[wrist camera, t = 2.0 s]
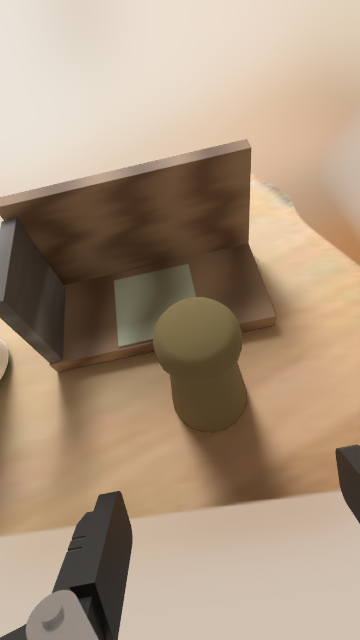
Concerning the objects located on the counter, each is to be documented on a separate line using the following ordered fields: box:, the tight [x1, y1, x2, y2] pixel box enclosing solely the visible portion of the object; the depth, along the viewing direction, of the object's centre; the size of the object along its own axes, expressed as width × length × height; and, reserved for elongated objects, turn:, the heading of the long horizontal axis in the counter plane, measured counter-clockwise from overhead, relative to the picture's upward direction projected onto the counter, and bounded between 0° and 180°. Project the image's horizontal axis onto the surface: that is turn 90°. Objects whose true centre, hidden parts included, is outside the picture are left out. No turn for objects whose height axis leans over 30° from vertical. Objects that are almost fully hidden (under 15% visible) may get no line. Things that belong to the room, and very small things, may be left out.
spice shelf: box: [0, 139, 276, 372], centre depth 29 cm, size 20×10×12 cm, turn 100°
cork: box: [153, 297, 247, 432], centre depth 23 cm, size 6×6×11 cm
